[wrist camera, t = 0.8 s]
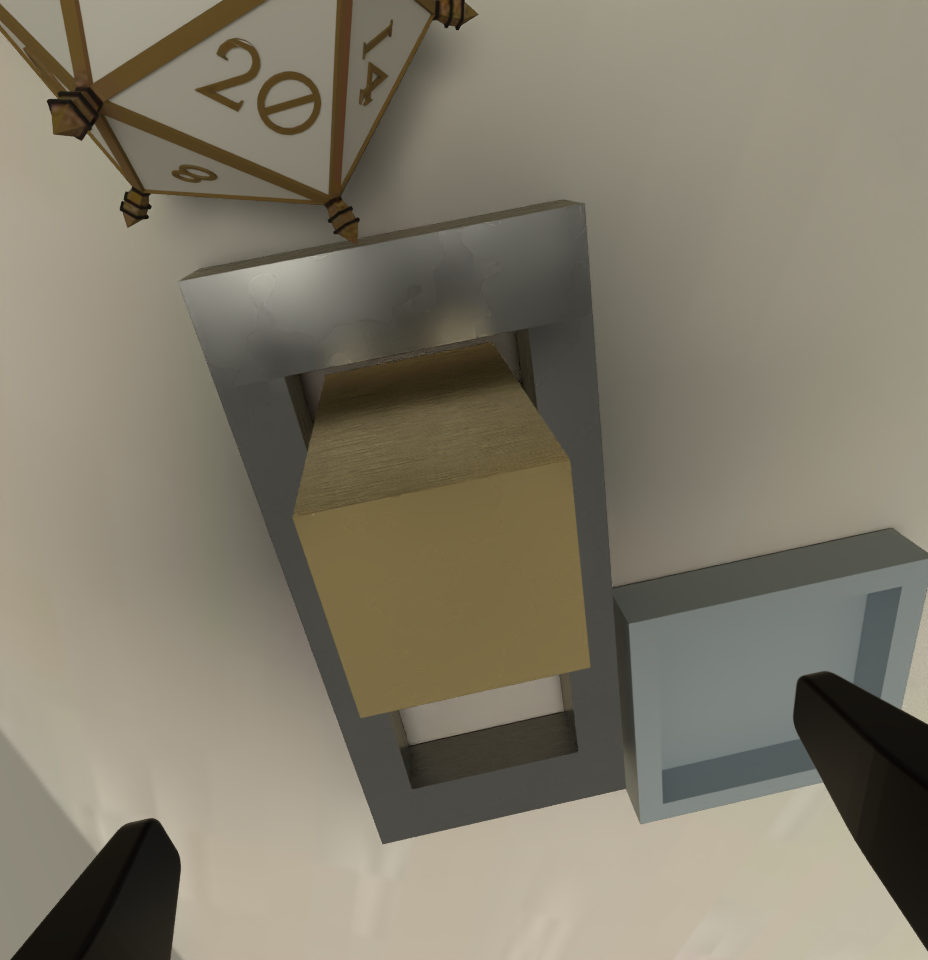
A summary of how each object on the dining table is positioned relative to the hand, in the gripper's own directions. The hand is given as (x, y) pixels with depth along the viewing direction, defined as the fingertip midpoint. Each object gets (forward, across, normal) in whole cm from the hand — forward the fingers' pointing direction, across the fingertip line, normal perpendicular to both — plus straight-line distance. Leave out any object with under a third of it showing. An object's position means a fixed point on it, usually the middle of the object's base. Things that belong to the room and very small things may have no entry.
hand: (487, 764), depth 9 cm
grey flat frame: (+12, 0, +5) cm, 13 cm away
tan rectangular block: (+12, 0, 0) cm, 12 cm away
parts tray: (+12, -11, +13) cm, 21 cm away
